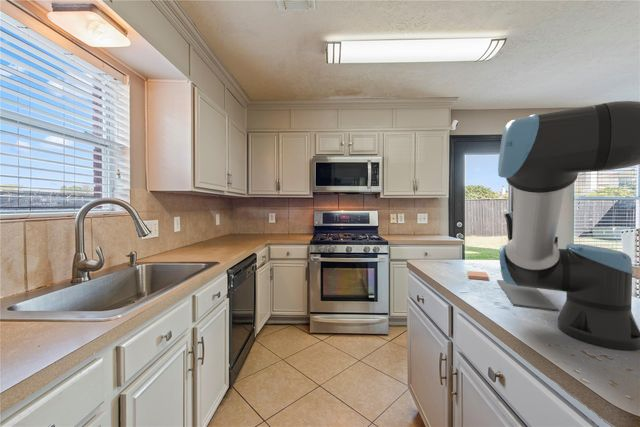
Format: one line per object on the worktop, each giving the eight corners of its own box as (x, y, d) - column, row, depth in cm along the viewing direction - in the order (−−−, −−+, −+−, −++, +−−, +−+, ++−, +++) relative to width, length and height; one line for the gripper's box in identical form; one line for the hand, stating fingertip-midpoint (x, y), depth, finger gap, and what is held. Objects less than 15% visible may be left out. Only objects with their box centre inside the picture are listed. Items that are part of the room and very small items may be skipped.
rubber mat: (558, 311, 83) (558, 309, 83) (513, 305, 88) (513, 303, 88) (530, 284, 110) (530, 282, 110) (496, 281, 115) (496, 279, 115)
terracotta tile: (488, 277, 116) (486, 272, 124) (468, 275, 120) (467, 270, 128) (488, 281, 116) (486, 276, 125) (468, 279, 120) (467, 274, 128)
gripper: (551, 194, 90) (551, 260, 91) (497, 195, 97) (497, 257, 98) (561, 193, 84) (561, 265, 84) (502, 195, 90) (502, 261, 91)
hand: (526, 261), depth 91 cm, fingers closed on steel trowel, 3 cm apart
